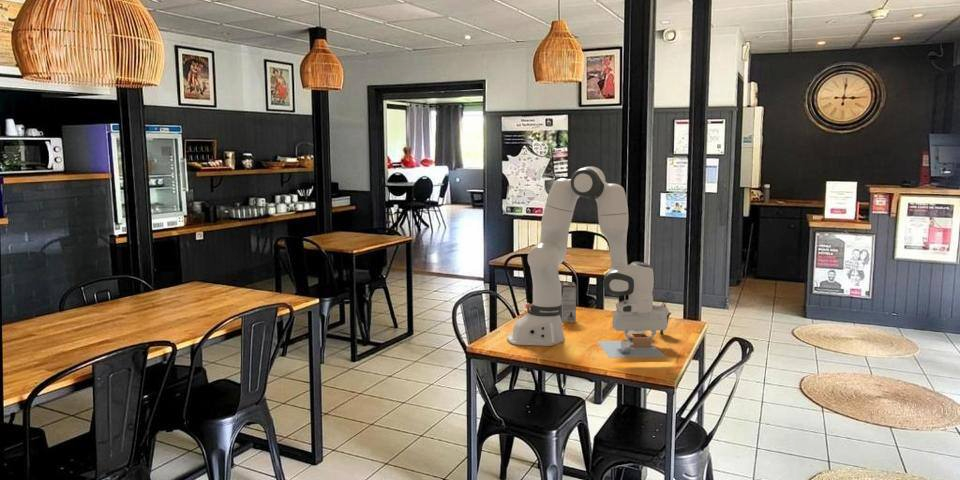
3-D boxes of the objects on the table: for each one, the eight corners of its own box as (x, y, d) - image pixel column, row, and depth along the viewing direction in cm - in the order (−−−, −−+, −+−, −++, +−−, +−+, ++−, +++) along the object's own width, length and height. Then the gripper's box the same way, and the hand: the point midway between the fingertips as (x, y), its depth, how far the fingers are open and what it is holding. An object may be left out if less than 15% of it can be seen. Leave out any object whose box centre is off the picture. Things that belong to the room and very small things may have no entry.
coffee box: (559, 316, 297) (559, 281, 294) (573, 316, 296) (574, 281, 294) (561, 322, 287) (562, 285, 285) (576, 322, 287) (577, 285, 285)
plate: (609, 361, 233) (609, 357, 232) (596, 345, 252) (596, 341, 252) (665, 360, 234) (665, 356, 233) (648, 344, 253) (648, 340, 253)
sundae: (671, 340, 259) (672, 302, 257) (653, 339, 260) (654, 302, 258) (669, 335, 265) (671, 299, 263) (652, 335, 267) (653, 298, 265)
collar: (632, 347, 245) (633, 338, 244) (627, 342, 251) (628, 333, 251) (651, 347, 245) (651, 337, 244) (645, 341, 252) (645, 332, 251)
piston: (622, 354, 236) (622, 342, 236) (619, 351, 239) (620, 339, 239) (631, 354, 236) (631, 341, 236) (628, 351, 239) (629, 339, 239)
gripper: (665, 303, 250) (664, 338, 252) (611, 303, 249) (610, 339, 251) (670, 307, 243) (669, 343, 245) (615, 307, 242) (614, 344, 244)
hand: (639, 341), depth 248 cm, fingers closed on collar, 7 cm apart
